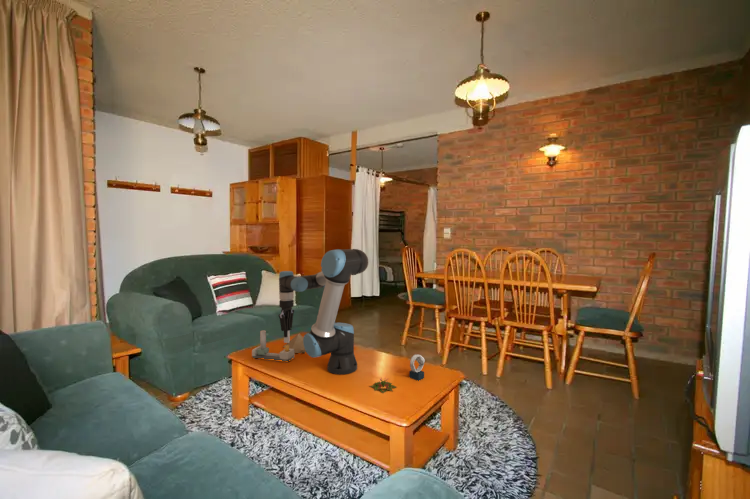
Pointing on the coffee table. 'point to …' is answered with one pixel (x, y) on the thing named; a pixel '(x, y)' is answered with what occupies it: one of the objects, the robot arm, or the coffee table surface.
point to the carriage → (263, 343)
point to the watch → (417, 373)
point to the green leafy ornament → (383, 383)
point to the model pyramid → (297, 344)
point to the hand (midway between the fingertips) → (286, 342)
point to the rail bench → (274, 355)
